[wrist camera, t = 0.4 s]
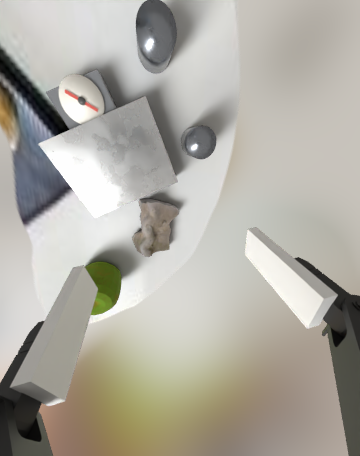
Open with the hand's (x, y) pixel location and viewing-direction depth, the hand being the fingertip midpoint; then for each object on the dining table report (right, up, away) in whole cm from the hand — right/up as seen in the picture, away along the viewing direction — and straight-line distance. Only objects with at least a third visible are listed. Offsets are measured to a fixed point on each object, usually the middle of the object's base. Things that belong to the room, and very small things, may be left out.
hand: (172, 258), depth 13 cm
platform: (-11, +14, +16) cm, 23 cm away
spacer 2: (+3, +20, +19) cm, 28 cm away
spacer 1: (-3, +30, +12) cm, 32 cm away
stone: (-6, +3, +27) cm, 28 cm away
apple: (-21, -10, +31) cm, 39 cm away
